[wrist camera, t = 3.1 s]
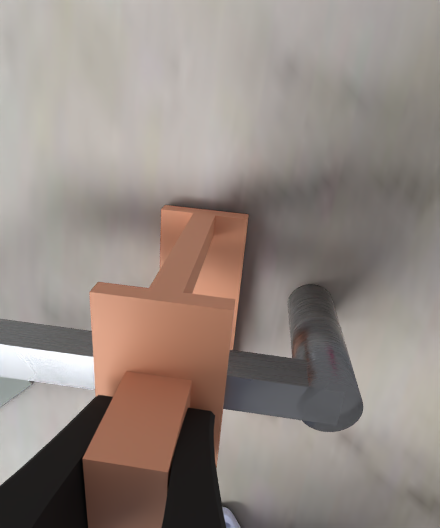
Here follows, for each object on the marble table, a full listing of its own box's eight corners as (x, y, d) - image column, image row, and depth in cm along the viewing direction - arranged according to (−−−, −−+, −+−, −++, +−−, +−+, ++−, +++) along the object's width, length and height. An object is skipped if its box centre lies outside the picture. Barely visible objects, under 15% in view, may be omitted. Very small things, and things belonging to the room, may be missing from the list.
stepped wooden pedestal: (248, 214, 15) (221, 390, 6) (231, 366, 18) (195, 628, 9) (164, 204, 15) (28, 362, 7) (161, 356, 18) (62, 604, 10)
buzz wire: (338, 315, 17) (371, 423, 11) (-79, 441, 23) (-185, 549, 17) (270, 134, 14) (270, 163, 9) (-180, 331, 20) (-340, 418, 15)
